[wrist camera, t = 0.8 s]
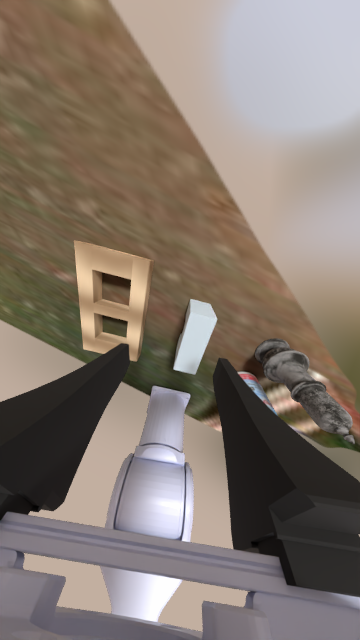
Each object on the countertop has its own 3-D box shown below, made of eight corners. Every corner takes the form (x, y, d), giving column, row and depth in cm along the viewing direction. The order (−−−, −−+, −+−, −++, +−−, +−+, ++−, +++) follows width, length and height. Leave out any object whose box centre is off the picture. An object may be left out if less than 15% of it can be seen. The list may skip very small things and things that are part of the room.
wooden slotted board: (140, 353, 24) (136, 361, 22) (91, 342, 24) (83, 349, 22) (154, 260, 17) (150, 260, 15) (86, 242, 17) (73, 240, 15)
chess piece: (252, 366, 23) (307, 460, 12) (253, 339, 21) (322, 423, 10) (288, 363, 22) (381, 461, 12) (293, 334, 20) (416, 421, 9)
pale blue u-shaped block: (193, 349, 23) (194, 374, 18) (177, 345, 22) (173, 369, 18) (210, 304, 19) (217, 319, 14) (190, 298, 19) (190, 312, 14)
